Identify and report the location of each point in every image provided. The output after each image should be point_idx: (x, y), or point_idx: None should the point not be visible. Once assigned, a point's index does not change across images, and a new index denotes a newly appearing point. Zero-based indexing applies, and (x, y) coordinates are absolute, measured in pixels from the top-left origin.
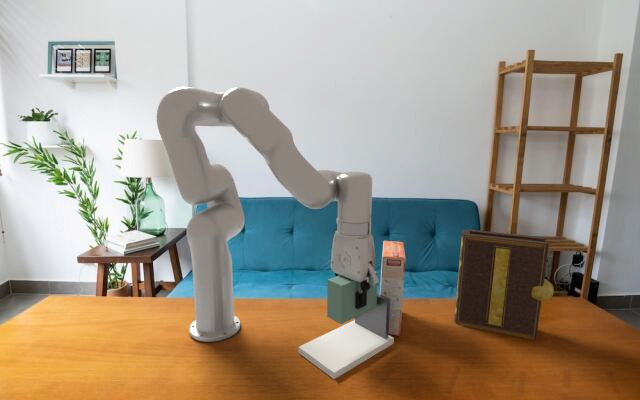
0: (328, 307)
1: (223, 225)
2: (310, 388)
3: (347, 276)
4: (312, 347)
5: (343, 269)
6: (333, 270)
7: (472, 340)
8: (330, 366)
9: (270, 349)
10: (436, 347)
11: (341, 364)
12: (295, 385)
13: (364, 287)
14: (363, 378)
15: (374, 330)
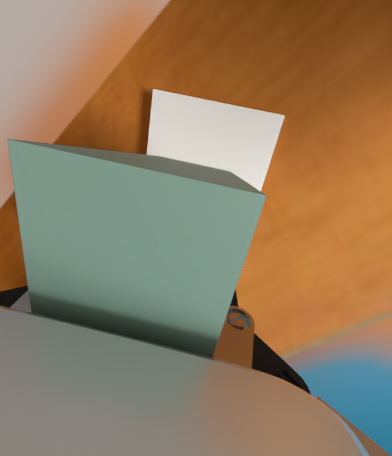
0: (225, 171)
1: None
2: (178, 24)
3: (54, 334)
4: (251, 139)
5: (69, 451)
6: (300, 400)
7: None
8: (173, 103)
9: (357, 77)
10: None
11: (159, 128)
12: (212, 3)
13: (13, 299)
14: (118, 140)
15: None
